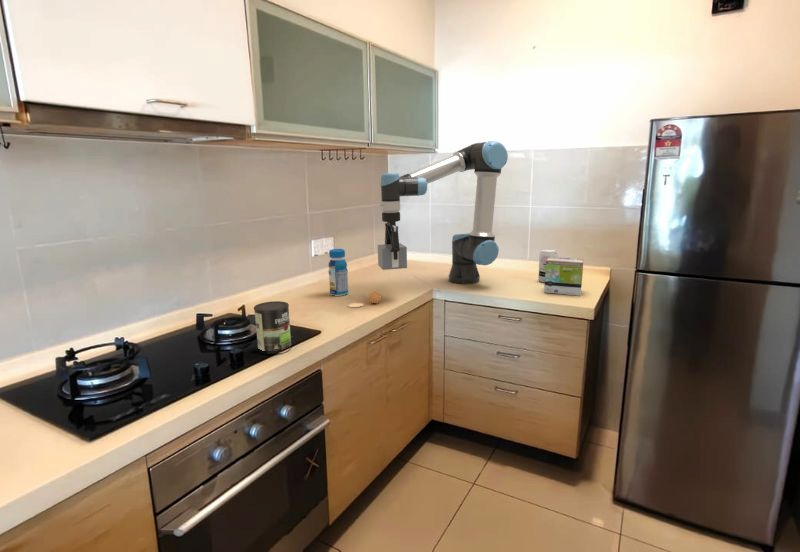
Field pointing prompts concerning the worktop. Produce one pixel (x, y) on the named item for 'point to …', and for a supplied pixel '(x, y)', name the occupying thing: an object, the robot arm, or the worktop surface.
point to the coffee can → (272, 326)
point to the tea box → (563, 275)
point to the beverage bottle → (338, 272)
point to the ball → (374, 297)
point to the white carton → (542, 262)
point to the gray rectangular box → (386, 256)
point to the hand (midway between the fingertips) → (392, 264)
